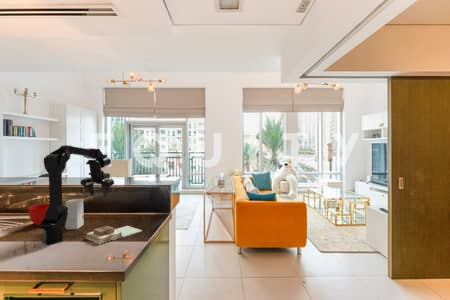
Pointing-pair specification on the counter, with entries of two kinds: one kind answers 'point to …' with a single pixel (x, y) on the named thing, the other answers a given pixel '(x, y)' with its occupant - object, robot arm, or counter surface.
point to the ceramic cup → (38, 213)
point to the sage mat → (128, 231)
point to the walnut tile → (103, 230)
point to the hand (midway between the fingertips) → (99, 196)
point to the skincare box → (74, 214)
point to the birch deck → (103, 237)
